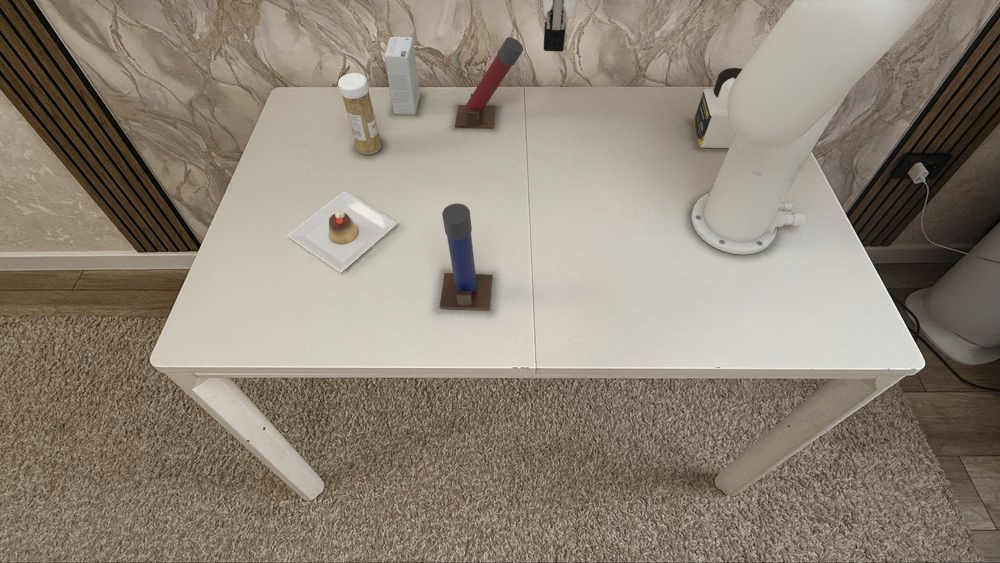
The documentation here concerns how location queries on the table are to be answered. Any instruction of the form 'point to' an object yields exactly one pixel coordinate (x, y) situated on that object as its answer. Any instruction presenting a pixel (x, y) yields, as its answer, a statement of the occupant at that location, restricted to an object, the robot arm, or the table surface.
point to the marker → (460, 246)
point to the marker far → (495, 74)
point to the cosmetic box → (402, 75)
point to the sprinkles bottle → (360, 112)
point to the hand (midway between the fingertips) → (553, 48)
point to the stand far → (475, 117)
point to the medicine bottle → (716, 113)
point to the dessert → (342, 230)
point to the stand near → (466, 294)
